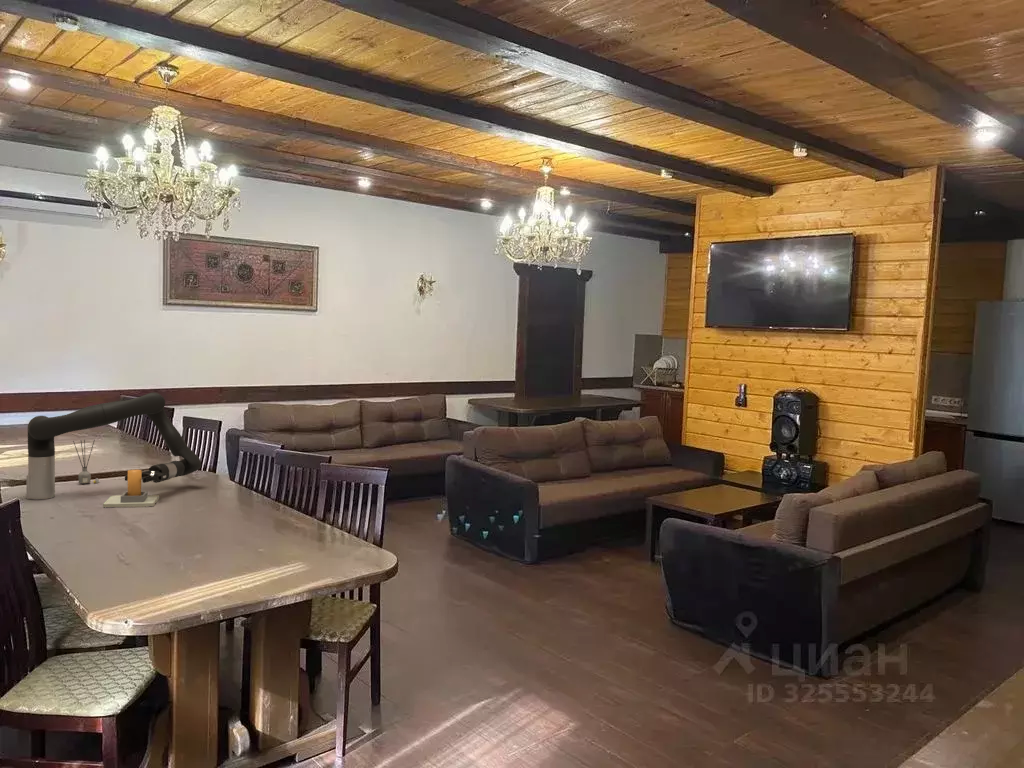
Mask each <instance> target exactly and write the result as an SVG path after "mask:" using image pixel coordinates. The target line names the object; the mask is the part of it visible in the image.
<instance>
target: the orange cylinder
mask: <svg viewBox="0 0 1024 768" xmlns="http://www.w3.org/2000/svg"><path fill="white" fill-rule="evenodd" d="M142 471H143V470H142V469H128V470H127V475H128V481H127V492H128V494H127V496H141V492H142V480H141V479H142Z"/></svg>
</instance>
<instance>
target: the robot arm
mask: <svg viewBox="0 0 1024 768" xmlns="http://www.w3.org/2000/svg"><path fill="white" fill-rule="evenodd" d="M165 406H166V399H165V398H164V396H162V395H161V393H158V392H148V393H146V394H144V395H142V396H138V397H135V398H131V399H126V400H119V401H118V400H115V401H109V402H104V403H103V402H102V403H100V404H95V405H94V404H93V405H90V406H86V407H82V408H80V409H78V410H75V411H73V412H70V413H68V414H62V415H58V416H50V417H49V416H46V415H37V416H35V417H32V419H30V420H29V422H28V424H27V464H28V465H27V469H28V470H27V475H26V476H25V478H26V480H25V481H26V485H25V486H26V494H25V495H26V498H25V499H26V500H27V499H28V500H47V499H48V500H49V499H51V498H52V499H53V498H54V497H55V496H56V494H55V493H56V489H55V488H56V478H55V477H56V461H55V460H56V447H55V437H58V436H62V435H64V434H68V433H72V432H78V431H82V430H84V431H85V430H88V429H89V430H90V429H94V428H99V427H104V426H107V425H111V424H114V423H118V422H121V421H123V420H127V419H129V418H133V417H137V416H143V415H146V416H147V417H148V418H149V419H150V420H151V421H152V423H153V425H154V426H155V428H156V429H157V430H158V432H159V433H160V436H161V437H162V439H163V441H164V442H165V445H166V446H167V448H168V449H169V450H168V451H170V453H171V455H172V456H173V457H182V458H183V459H181V460H172V461H167V462H162V463H157V464H153V465H150V467H149V468H148V469H145V470H142V479H141V483H142V484H145V483H149V482H152V483H156V484H157V483H161V482H164V481H165V482H166V481H169V480H171V479H175V478H177V477H185V476H188V475H190V474H193V473H195V472H197V471H199V470H200V469H201V466H202V461H201V459H200V458H199V456H198V454H196V452H195V451H193V450H192V449H191V448H190V447H189V446H188V445H187V443H186V441H185V440H184V438H183V436H182V435H181V433H180V432H179V431H178V429H177V428H176V426H175V425H174V424H173V423H172V422H171V420H170V418H169V417H168V414H167V413H166V411H165ZM124 481H125V482H126V481H127V482H128V474H125V475H124Z"/></svg>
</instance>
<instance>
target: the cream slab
mask: <svg viewBox="0 0 1024 768" xmlns="http://www.w3.org/2000/svg"><path fill="white" fill-rule="evenodd" d="M148 493H149V492H148V490H147V491H146V490H145V491H142V490H141V496H127V494H128V491H124V492H123V494H121V495H110V496H109V498H108V499H107V500H106V501H105V502H104V503H102V508H103V509H107V508H106V507H121V508H148V507H147V506H153V507H155V505H156V504H157V502H158V501H159V500H158V499H160V494H152V495H151V494H148ZM155 503H156V504H155ZM145 506H146V507H145ZM104 507H105V508H104Z"/></svg>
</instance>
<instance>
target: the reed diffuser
mask: <svg viewBox="0 0 1024 768" xmlns="http://www.w3.org/2000/svg"><path fill="white" fill-rule="evenodd" d="M83 441H84V442H83V443H82V441H80V447H81V453H82V455H86V439H84V440H83ZM72 442H73V445H74V448H75V450H76V453H77V456H78V458H79V462H80V464H81V469H82V470H81V472H79V473H78V477H77V478H78V483H79V484H89V483H91V482H93V483H94V484H99V483H100V479H99V478H97V477H96V478H95V479H94V480H92V481H91V479H92V476H91V474H92V473H91V472H89V471H88V464H89V460H90V457H91V455H92V454H91V453H92V451H93V447H94V444H95V439H94V440H93V442H92V445H91V449H90V452H89V456H88V459H87V462H86V463H85V456H82V460H81V458H80V455H79V451H78V449H77V445H76V444H75V441H74V440H73V441H72ZM83 444H84V446H83ZM83 448H84V450H83ZM82 461H83V463H82Z"/></svg>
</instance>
